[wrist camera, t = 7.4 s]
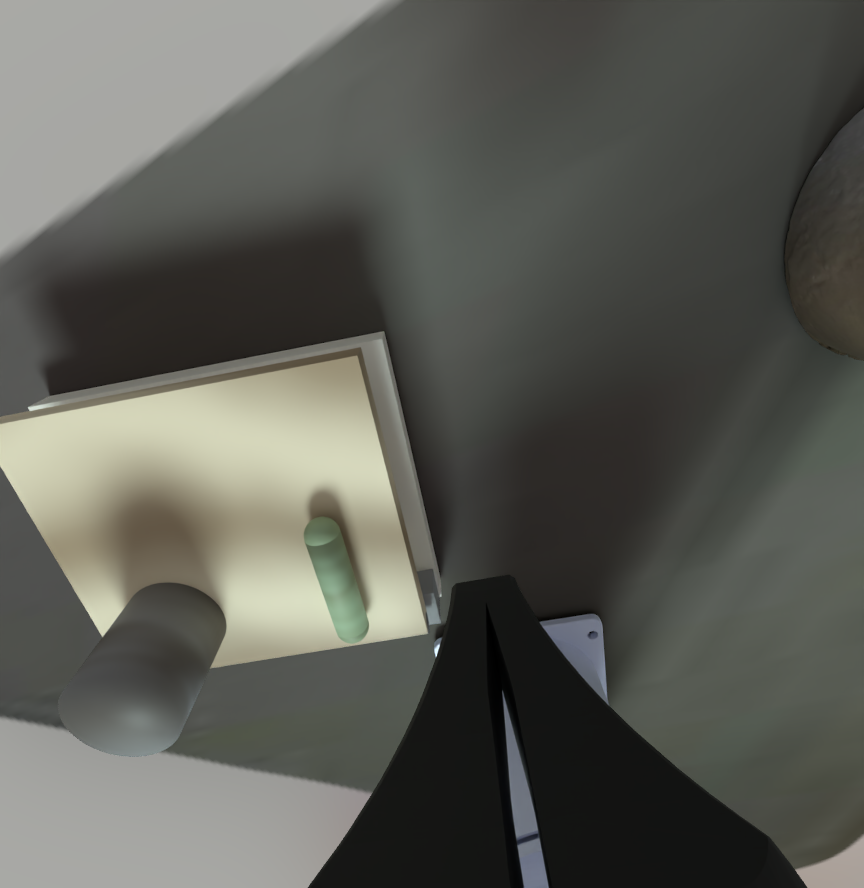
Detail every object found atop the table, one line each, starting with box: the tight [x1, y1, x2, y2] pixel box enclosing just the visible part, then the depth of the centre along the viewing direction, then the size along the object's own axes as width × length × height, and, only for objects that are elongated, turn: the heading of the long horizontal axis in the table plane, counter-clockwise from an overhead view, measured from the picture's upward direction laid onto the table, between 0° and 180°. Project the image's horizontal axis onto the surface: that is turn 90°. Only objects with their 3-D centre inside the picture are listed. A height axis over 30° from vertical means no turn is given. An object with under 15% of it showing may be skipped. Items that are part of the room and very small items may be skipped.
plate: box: [0, 347, 430, 757], centre depth 17 cm, size 11×12×5 cm
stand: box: [28, 331, 442, 625], centre depth 21 cm, size 12×13×3 cm
